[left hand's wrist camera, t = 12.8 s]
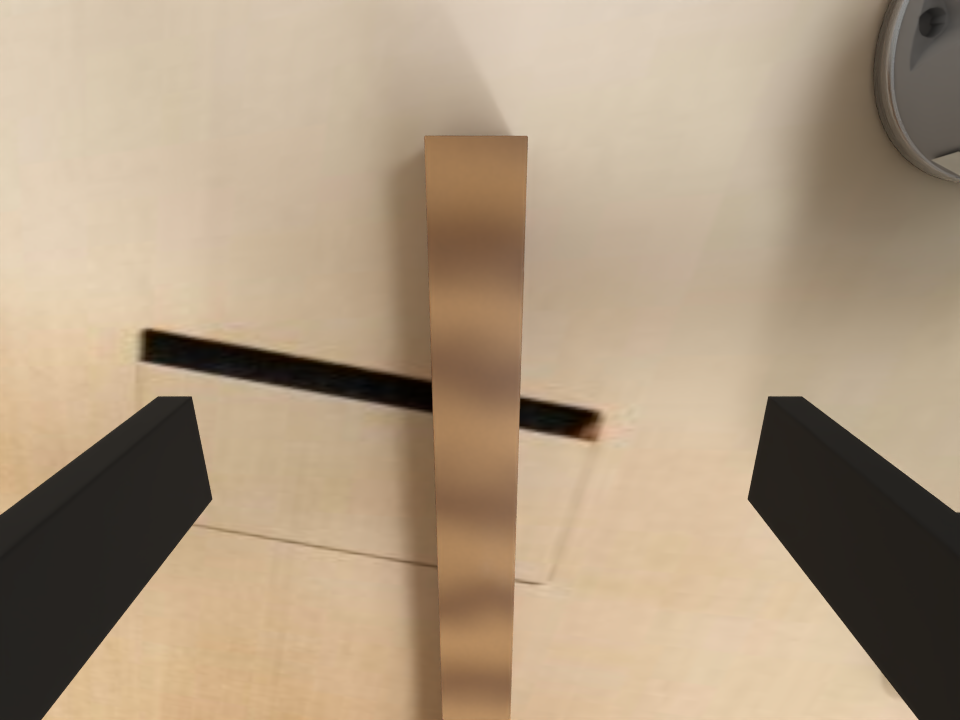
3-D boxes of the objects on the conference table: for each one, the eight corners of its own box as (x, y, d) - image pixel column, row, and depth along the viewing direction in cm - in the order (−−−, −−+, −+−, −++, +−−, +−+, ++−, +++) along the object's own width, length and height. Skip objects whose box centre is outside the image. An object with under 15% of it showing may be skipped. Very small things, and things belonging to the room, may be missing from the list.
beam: (437, 140, 33) (424, 135, 24) (515, 140, 33) (527, 135, 24) (454, 839, 56) (449, 955, 48) (499, 839, 56) (503, 955, 48)
